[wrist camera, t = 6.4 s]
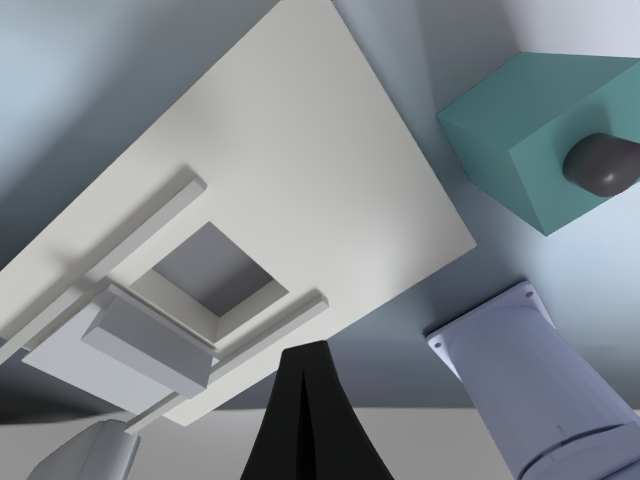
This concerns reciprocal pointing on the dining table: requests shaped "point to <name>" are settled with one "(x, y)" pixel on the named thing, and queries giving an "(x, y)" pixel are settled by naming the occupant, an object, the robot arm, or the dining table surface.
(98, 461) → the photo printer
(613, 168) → the plug
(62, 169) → the dining table surface
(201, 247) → the socket plate
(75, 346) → the shutter
